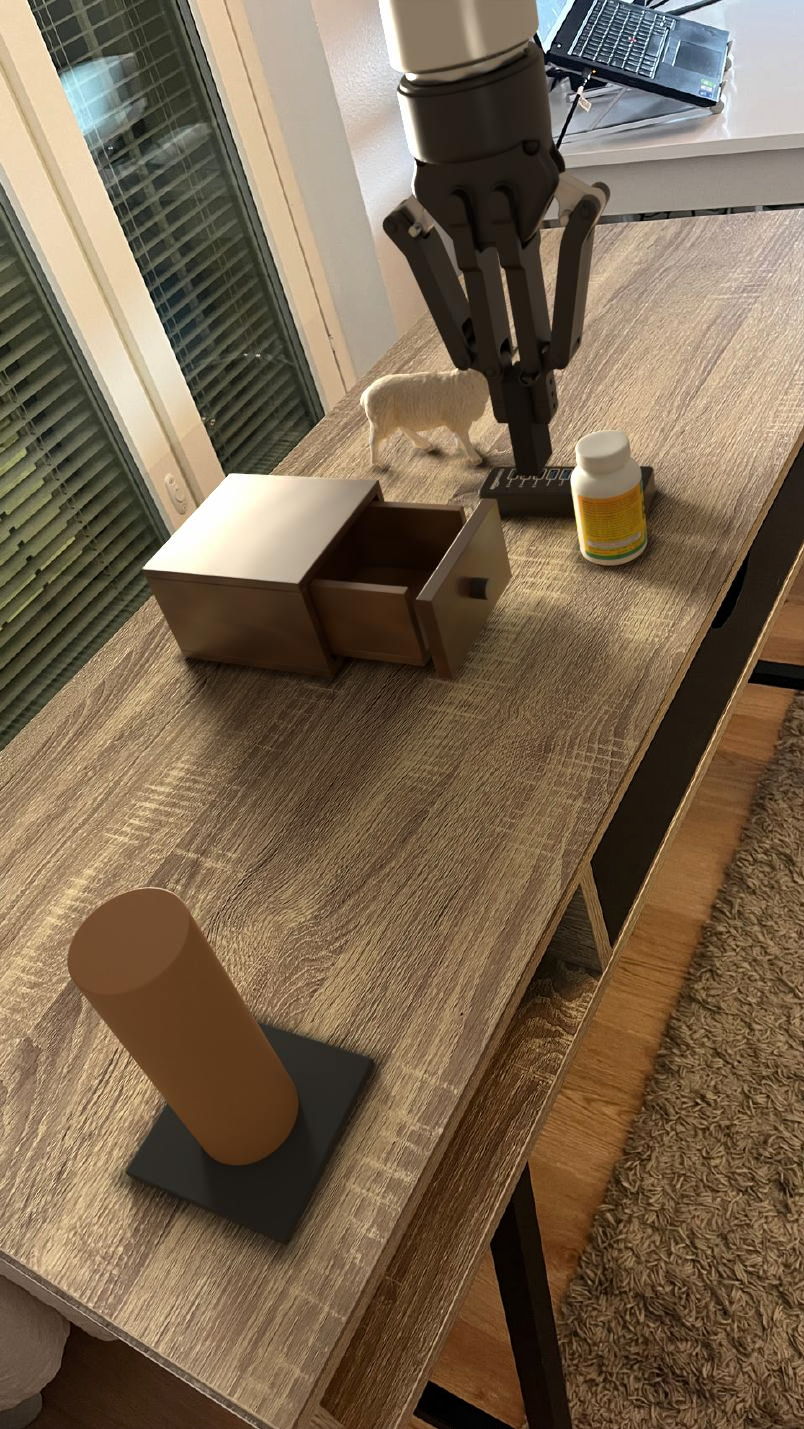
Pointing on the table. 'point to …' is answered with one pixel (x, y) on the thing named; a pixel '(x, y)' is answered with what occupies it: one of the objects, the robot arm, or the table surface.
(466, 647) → the drawer
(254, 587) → the cabinet
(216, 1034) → the brown cylinder
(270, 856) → the table surface
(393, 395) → the figurine
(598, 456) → the supplement bottle
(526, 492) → the multiport hub
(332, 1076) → the mat
